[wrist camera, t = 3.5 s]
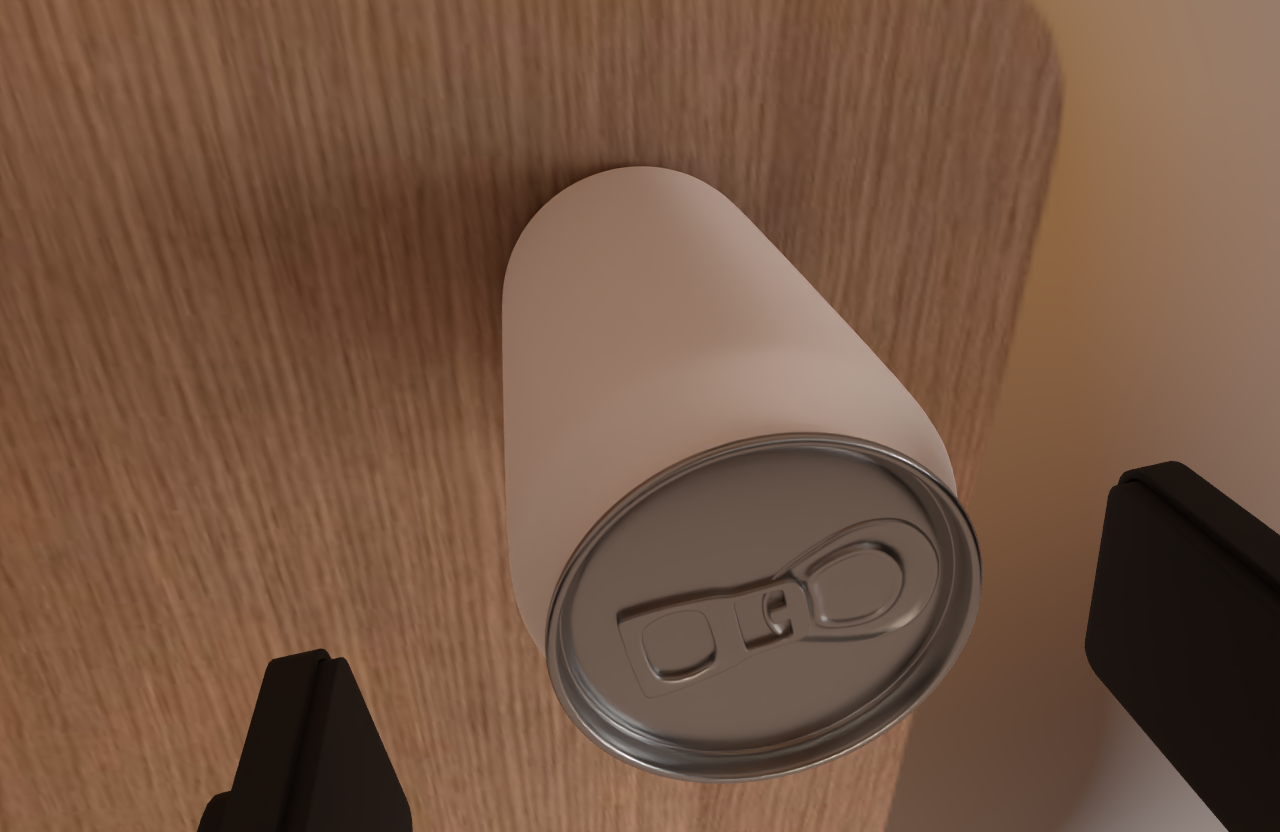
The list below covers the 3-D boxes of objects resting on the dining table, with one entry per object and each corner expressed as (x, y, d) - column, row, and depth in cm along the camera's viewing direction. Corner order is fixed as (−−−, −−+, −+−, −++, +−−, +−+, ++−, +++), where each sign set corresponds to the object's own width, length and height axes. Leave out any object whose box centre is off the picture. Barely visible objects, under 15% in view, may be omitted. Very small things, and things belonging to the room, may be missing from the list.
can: (784, 368, 23) (1027, 723, 12) (549, 441, 23) (597, 857, 12) (733, 124, 20) (1004, 325, 9) (461, 209, 20) (423, 508, 9)
